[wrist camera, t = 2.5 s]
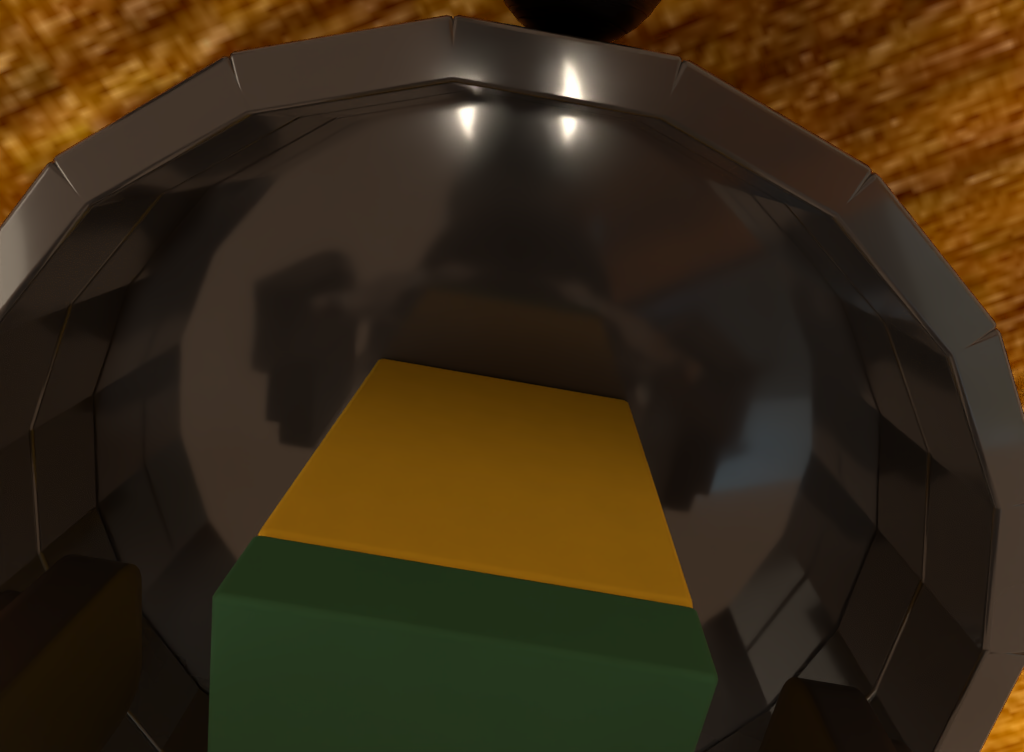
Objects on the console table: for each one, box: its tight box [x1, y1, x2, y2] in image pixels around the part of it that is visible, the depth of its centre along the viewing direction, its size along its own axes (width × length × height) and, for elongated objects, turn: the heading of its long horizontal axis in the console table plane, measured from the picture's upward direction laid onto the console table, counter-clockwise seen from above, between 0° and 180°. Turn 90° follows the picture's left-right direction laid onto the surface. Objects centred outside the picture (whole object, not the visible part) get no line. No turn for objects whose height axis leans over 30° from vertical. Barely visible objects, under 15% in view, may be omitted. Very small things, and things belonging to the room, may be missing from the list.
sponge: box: [208, 359, 718, 752], centre depth 9 cm, size 5×4×6 cm
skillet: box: [0, 15, 1024, 752], centre depth 11 cm, size 14×14×4 cm
